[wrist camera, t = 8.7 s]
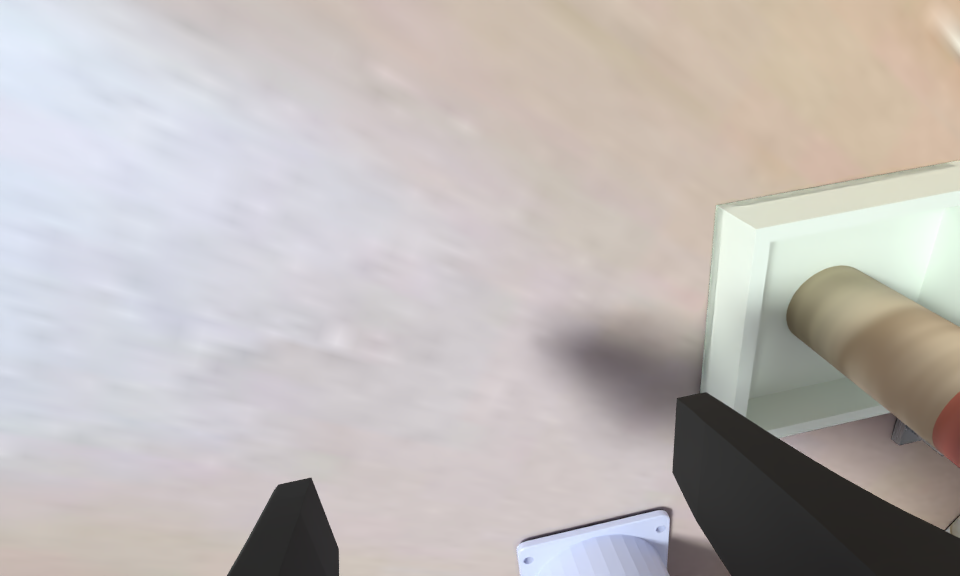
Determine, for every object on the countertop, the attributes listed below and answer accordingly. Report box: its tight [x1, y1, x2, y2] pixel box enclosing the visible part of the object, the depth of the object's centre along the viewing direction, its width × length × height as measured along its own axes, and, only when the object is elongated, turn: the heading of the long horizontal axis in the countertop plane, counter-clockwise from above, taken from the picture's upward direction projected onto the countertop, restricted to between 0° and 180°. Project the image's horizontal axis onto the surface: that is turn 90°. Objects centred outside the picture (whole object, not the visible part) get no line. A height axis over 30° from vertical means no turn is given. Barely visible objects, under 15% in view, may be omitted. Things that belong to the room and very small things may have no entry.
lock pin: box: [786, 265, 960, 468], centre depth 20 cm, size 4×4×8 cm
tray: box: [700, 160, 960, 438], centre depth 22 cm, size 10×10×2 cm
